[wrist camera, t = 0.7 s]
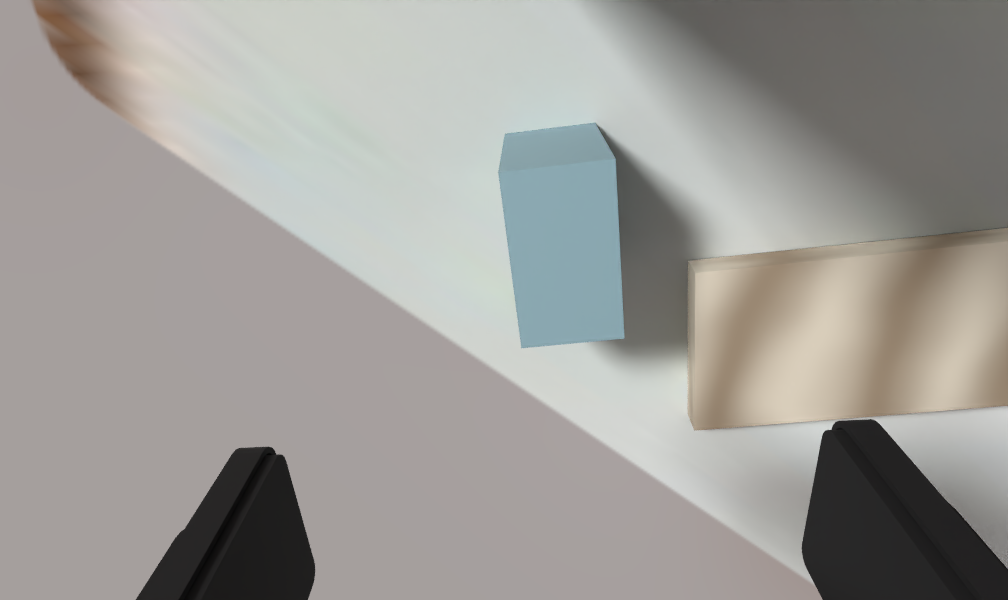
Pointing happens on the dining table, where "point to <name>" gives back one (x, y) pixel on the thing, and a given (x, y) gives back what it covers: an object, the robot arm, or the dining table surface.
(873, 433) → the robot arm
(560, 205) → the pale blue upright box
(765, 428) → the dining table surface
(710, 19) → the dining table surface
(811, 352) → the wooden bookend
